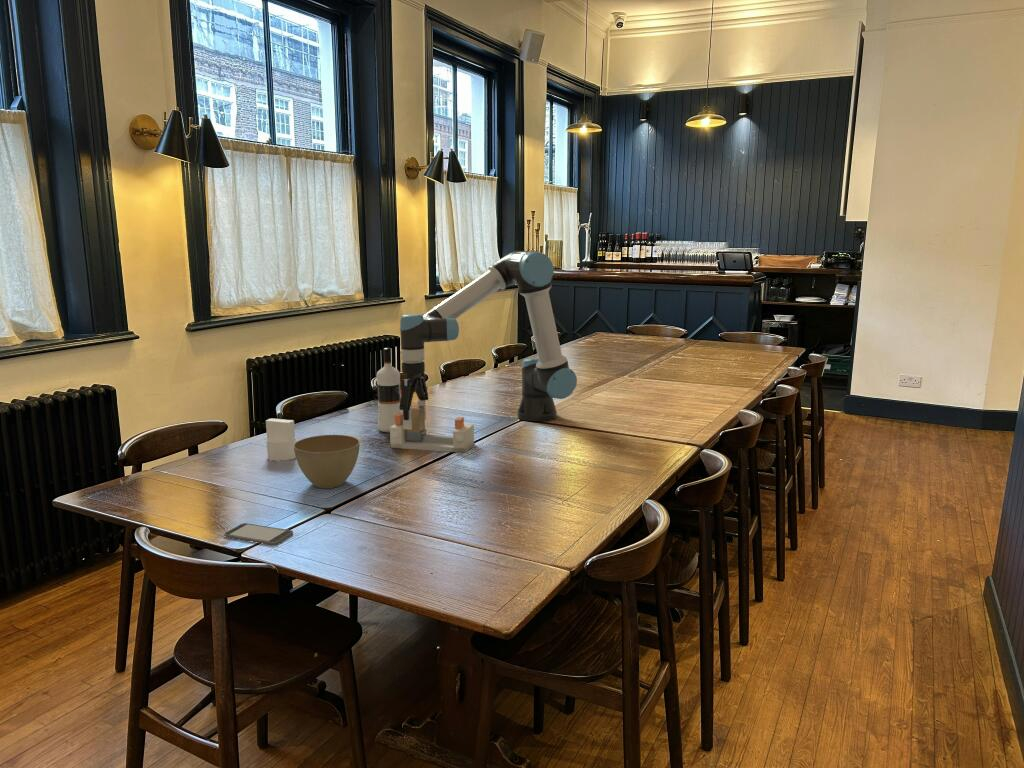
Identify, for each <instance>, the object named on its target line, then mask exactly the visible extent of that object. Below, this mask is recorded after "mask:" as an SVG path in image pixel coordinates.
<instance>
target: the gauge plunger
mask: <svg viewBox="0 0 1024 768" xmlns="http://www.w3.org/2000/svg"><path fill="white" fill-rule="evenodd" d="M394 418H395V424H399V425H400V424H402V423H403V413H398V414H396V415H394Z"/></svg>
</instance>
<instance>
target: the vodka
mask: <svg viewBox="0 0 1024 768" xmlns="http://www.w3.org/2000/svg"><path fill="white" fill-rule="evenodd" d="M383 363H384V364H383V365H384V366H383V367H382V368H380V369H379V370H378V371H377V372H376V380H377V381H376V384H377V399H378V402H377V405H378V407H377V409H378V416H377V417H378V420H377V430H378V431H380V432H381V433H389V434H390V427H391V426H393V425H394V424H395V418H394V415H396V414H398V413H401V410H400V408H399V407H400V400H401V396H400V390H401V378H400V377H401V373H400V371H399V370H398V368H395V367H394V366H392V365H393V364H392V349H391V348H390V347H384V348H383Z"/></svg>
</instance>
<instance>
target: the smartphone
mask: <svg viewBox="0 0 1024 768" xmlns="http://www.w3.org/2000/svg"><path fill="white" fill-rule="evenodd" d="M224 536H226V537H230V538H229V539H231V538H234V539H233V540H237V539H240V540H239V541H243V540H245V541H244V542H248V541H253V542H252V543H254V542H258V543H257V544H260V543H263V544H262V545H267V546H277V545H279V544H280V543H282V542H284V541H286V540H287V539H289V538H290V537H292V536H294V530H292V529H287V528H286V529H284V528H279V527H272V526H267V525H262V524H261V525H260V524H254V523H249V522H244V523H241V524H239V525H237V526H235V527H233V528H232V529H230V530H228V531H225V532H224V533H223V537H224Z"/></svg>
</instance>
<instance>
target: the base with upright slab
mask: <svg viewBox="0 0 1024 768" xmlns="http://www.w3.org/2000/svg"><path fill="white" fill-rule="evenodd" d="M265 428H266V450H267V451H266V452H267V459H268V460H269V459H270V460H269V461H272V460H276V461H275V462H281V461H280V460H285V461H290V460H293V459H296V456H295V452H294V444H295V443H296V442H297V439H296V429H295V420H293V419H284V418H283V419H282V418H268V419H266V420H265ZM289 459H290V460H289Z"/></svg>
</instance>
